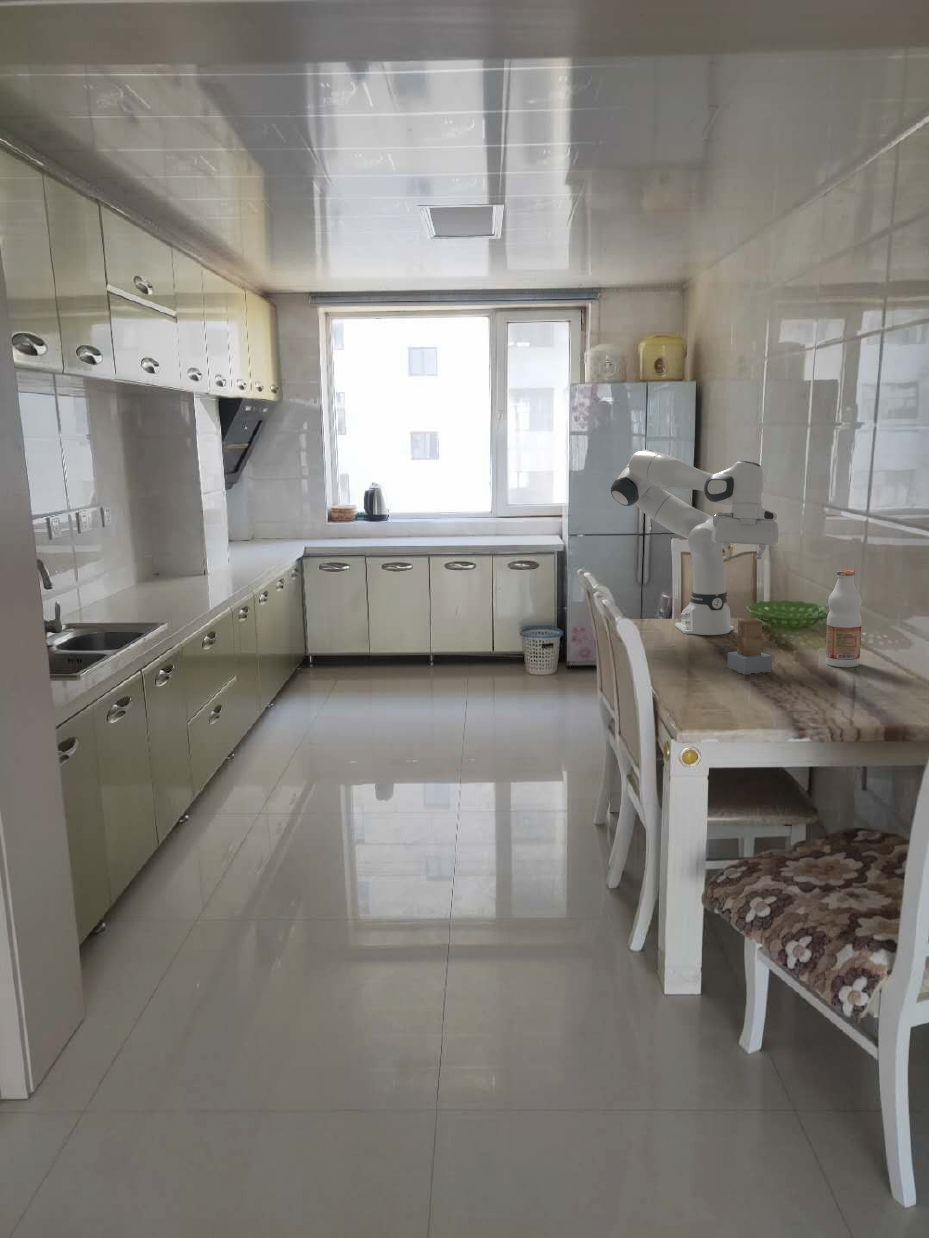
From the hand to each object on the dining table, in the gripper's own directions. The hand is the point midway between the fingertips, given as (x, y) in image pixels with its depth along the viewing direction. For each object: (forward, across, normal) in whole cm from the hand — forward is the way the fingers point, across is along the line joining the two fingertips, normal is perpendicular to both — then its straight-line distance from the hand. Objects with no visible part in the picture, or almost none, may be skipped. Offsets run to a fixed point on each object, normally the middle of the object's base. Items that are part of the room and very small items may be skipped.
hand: (743, 558), depth 279 cm
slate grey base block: (+33, -2, -14) cm, 36 cm away
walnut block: (+28, -3, -14) cm, 32 cm away
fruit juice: (+31, +26, -15) cm, 43 cm away
